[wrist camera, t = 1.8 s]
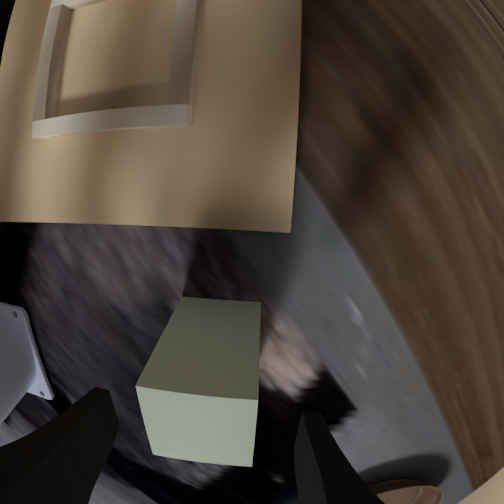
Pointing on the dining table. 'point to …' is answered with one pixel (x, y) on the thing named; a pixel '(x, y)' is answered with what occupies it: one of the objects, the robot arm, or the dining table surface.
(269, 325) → the dining table surface
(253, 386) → the sage block
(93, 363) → the dining table surface
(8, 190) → the display plinth
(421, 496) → the saucer
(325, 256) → the dining table surface
